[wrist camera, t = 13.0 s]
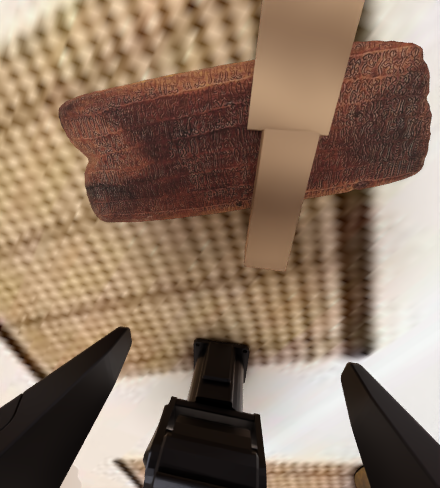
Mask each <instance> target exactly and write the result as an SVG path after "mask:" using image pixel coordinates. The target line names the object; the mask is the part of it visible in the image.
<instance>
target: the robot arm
mask: <svg viewBox="0 0 440 488" xmlns="http://www.w3.org/2000/svg"><path fill="white" fill-rule="evenodd" d="M131 344H132V339H131V332H130V329H129V328H128V327H122V326H121V327H118V328H116V329H115V330H114V331H112V332H111V333H109V334H108V335H106V336H105V337H103V338H102V339H100V340H99V341H98V342H96V343H95V344H93V345H92V346H90V347H89V348H87V349H86V350H84V351H83V352H81V353H80V354H79V355H77V356H76V357H74V358H73V359H71V360H70V361H68V362H67V363H65V364H64V365H62V366H61V367H60V368H58V369H57V370H55V371H54V372H52V373H51V374H49V375H48V376H46V377H45V378H43V379H42V380H41V381H39V382H38V383H36V384H35V385H33V386H32V387H30V388H29V389H27V390H26V391H25V392H24V393H23V394H20V395H19V396H17V397H16V398H14V399H13V400H11V401H10V402H8V403H7V404H5V405H4V406H2V407H1V408H0V488H60V486H61V484H62V482H63V480H64V478H65V477H66V475H67V473H68V471H69V469H70V467H71V465H72V464H73V462H74V460H75V458H76V456H77V454H78V452H79V450H80V449H81V447H82V445H83V443H84V441H85V439H86V437H87V435H88V434H89V432H90V430H91V428H92V426H93V424H94V422H95V421H96V419H97V417H98V415H99V413H100V411H101V409H102V407H103V406H104V404H105V402H106V400H107V398H108V396H109V394H110V392H111V391H112V389H113V387H114V385H115V383H116V380H117V378H118V376H119V373H120V371H121V369H122V366H123V364H124V361H125V359H126V357H127V354H128V352H129V350H130V347H131ZM248 358H249V347H248V346H245V345H238V344H231V343H224V342H216V341H209V340H202V339H196V340H195V341H194V374H193V378H192V382H191V386H190V390H189V394H188V398H187V400H182V399H177V397H173V396H172V397H171V400H170V402H169V404H168V405H165V407H164V410H163V413H162V416H161V419H160V422H159V425H158V427H157V429H156V431H155V433H154V435H153V437H152V439H151V441H150V443H149V445H148V447H147V449H146V451H145V454H144V458H143V462H144V465H145V468H146V470H145V480H144V487H143V488H267V481H266V462H265V454H264V446H263V437H262V429H261V421H260V414H255V413H254V414H249V413H245V412H242V409H243V383H245V378H246V371H247V365H248ZM341 383H342V387H343V392H344V397H345V401H346V406H347V410H348V415H349V419H350V423H351V427H352V430H353V434H354V437H355V440H356V443H357V446H358V449H359V453H360V456H361V459H362V462H363V465H364V468H365V471H366V475H367V478H368V481H369V484H370V487H371V488H440V445H439V444H438V443H437V442H436V441H435V440H434V439H433V438H432V436H431V435H430V434H429V433H428V432H427V431H426V430H425V429H424V428H423V427H422V426H421V425H420V424H419V423H418V422H417V421H416V420H415V419H414V418H413V417H412V416H411V415H410V414H409V413H408V412H407V411H406V410H405V409H404V408H403V407H402V406H401V405H400V404H399V403H398V402H397V401H396V400H395V399H394V398H393V397H392V396H391V395H390V394H389V393H388V392H387V391H386V390H385V389H384V388H383V387H382V386H381V385H380V384H379V383H378V382H377V381H376V380H375V379H374V378H373V377H372V376H371V375H370V374H369V373H368V372H367V371H366V370H365V369H364V368H363V367H362V366H361V365H360V364H358V363H352V362H348V363H347V364H346V366H345V368H344V370H343V372H342V375H341Z"/></svg>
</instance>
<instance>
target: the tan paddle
mask: <svg viewBox="0 0 440 488" xmlns="http://www.w3.org/2000/svg"><path fill="white" fill-rule="evenodd" d="M364 1H365V0H262V7H261V16H260V24H259V33H258V41H257V50H256V58H255V67H254V75H253V84H252V92H251V101H250V109H249V118H248V126H247V130H257V131H262V135H261V141H260V148H259V155H258V162H257V169H256V176H255V183H254V190H253V196H252V203H251V210H250V217H249V224H248V231H247V238H246V245H245V261H244V266H246V267H254V268H261V269H269V270H277V271H284V272H285V271H286V267H287V263H288V259H289V255H290V251H291V247H292V243H293V239H294V235H295V231H296V227H297V223H298V220H299V216H300V212H301V208H302V204H303V200H304V196H305V192H306V188H307V184H308V180H309V176H310V172H311V168H312V164H313V160H314V156H315V152H316V148H317V144H318V141H319V137H320V136H328V135H329V131H330V127H331V124H332V120H333V116H334V113H335V109H336V105H337V101H338V98H339V94H340V90H341V86H342V83H343V79H344V75H345V72H346V68H347V64H348V60H349V57H350V53H351V49H352V46H353V42H354V38H355V34H356V31H357V27H358V23H359V20H360V16H361V12H362V8H363V5H364Z"/></svg>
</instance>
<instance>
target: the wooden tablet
mask: <svg viewBox="0 0 440 488" xmlns="http://www.w3.org/2000/svg"><path fill="white" fill-rule="evenodd" d="M254 67H255V60H250V61H246V62H240V63H232V64H227V65H221V66H217V67H211V68H205V69H201V70H195V71H190V72H184V73H178V74H172V75H168V76H163V77H159V78H155V79H149V80H144V81H140V82H137V83H133V84H128V85H124V86H120V87H114V88H110V89H105V90H102V91H95V92H92V93H90V94H84V95H81V96H78V97H76V98H73V99H71V100H69V101H66V102H65V103H64V104H62V106H61V107H60V108H59V118H60V121H61V125H62V127H63V129H64V130H65V132H66V134H67V137H68V138H69V139H70V141H71V143H72V144H73V145H74V146H75V147H76V148H77V149H79V150H80V151H81V152H82V153H83V154H84V155H85V156H86V157H87V158H88V160H89V162H88V165H87V167H86V170H85V187H86V190H87V195H88V198H89V202H90V204H91V207H92V209H93V211H94V213H95V214H96V216H97V217H99V219H100V220H102V221H106V222H141V221H152V220H164V219H174V218H184V217H189V216H200V215H206V214H216V213H222V212H228V211H234V210H240V209H246V208H251V203H252V196H253V190H254V183H255V176H256V169H257V162H258V155H259V148H260V141H261V135H262V131H257V130H247V126H248V118H249V109H250V101H251V92H252V84H253V75H254ZM429 79H430V75H429V70H428V67H427V64H426V63H425V61H424V60H423V49H422V48H421V47H420V46H418V45H416V44H413V43H404V42H396V41H387V42H385V41H367V42H353V46H352V49H351V53H350V57H349V60H348V64H347V68H346V72H345V75H344V79H343V83H342V86H341V90H340V94H339V98H338V101H337V105H336V109H335V113H334V116H333V120H332V124H331V127H330V131H329V135H328V136H320V137H319V141H318V144H317V148H316V152H315V156H314V160H313V164H312V168H311V172H310V176H309V180H308V184H307V188H306V192H305V196H304V199H308V198H315V197H321V196H326V195H332V194H338V193H345V192H349V191H351V190H352V189H358V190H361V189H365V188H370V187H375V186H380V185H384V184H389V183H392V182H396V181H399V180H402V179H405V178H408V177H410V176H412V175H415V174H416V173H418V172H419V171H420V170H421V169H422V167H423V165H424V161H425V157H426V155H427V152H428V145H429V140H430V135H431V133H430V124H431V117H432V114H431V111H430V106H429V103H428V101H427V95H428V94H429Z"/></svg>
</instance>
